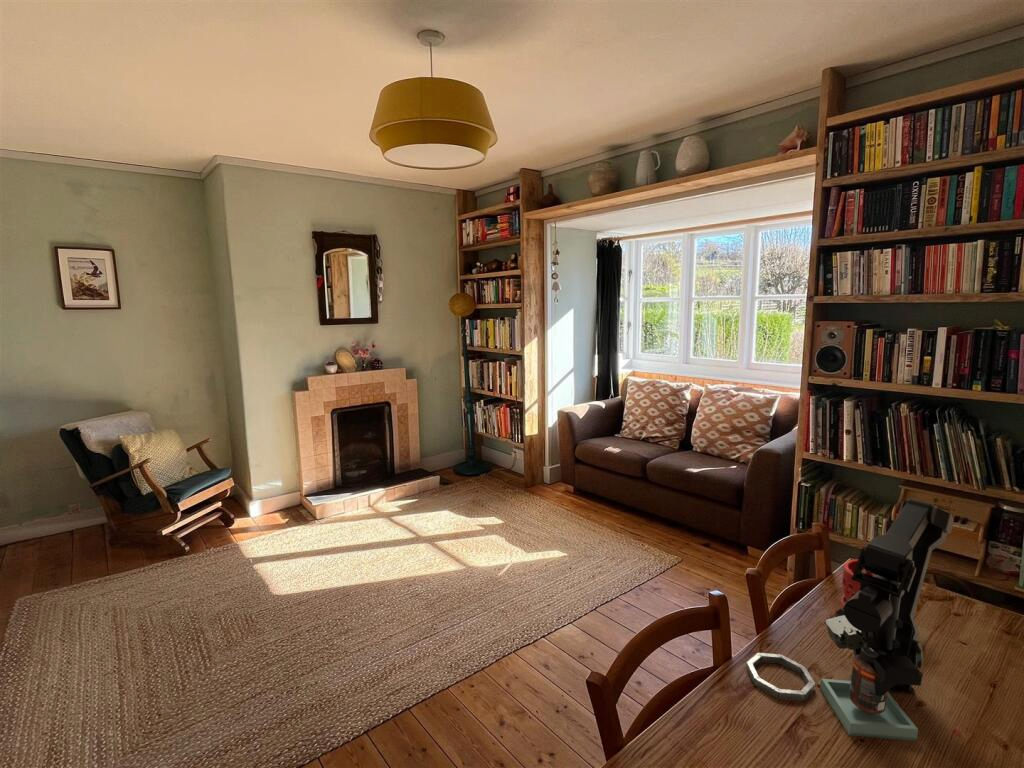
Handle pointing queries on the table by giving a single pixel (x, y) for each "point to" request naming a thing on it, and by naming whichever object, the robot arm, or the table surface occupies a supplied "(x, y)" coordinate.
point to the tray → (867, 714)
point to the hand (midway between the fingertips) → (869, 683)
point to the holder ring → (774, 690)
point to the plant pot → (850, 581)
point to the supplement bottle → (865, 683)
